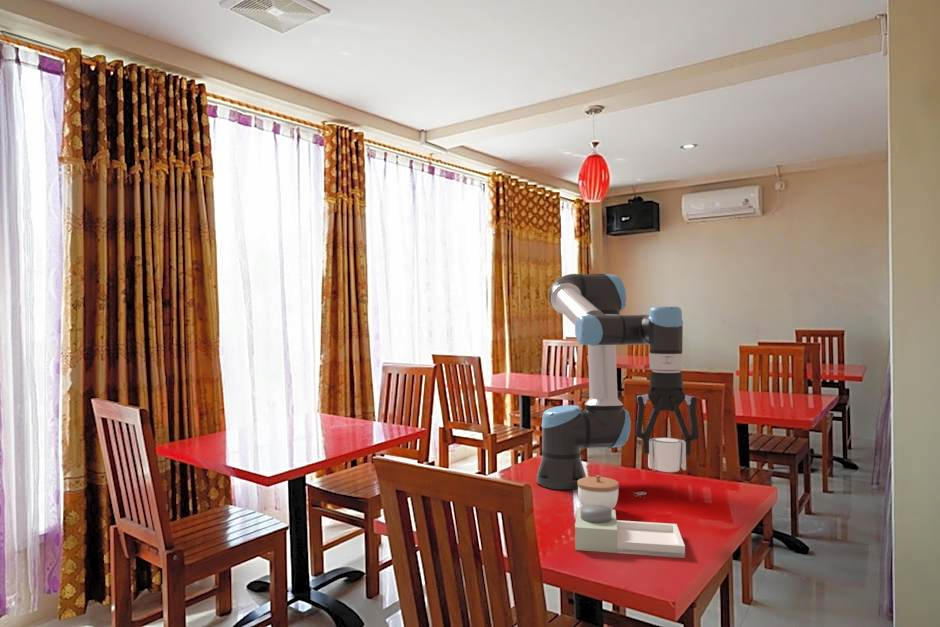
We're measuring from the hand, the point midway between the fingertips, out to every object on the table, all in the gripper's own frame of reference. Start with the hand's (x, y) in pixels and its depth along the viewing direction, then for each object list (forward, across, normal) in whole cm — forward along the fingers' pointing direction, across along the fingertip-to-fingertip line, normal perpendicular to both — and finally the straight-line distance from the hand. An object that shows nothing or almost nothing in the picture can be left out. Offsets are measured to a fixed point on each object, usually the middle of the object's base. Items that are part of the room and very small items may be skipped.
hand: (666, 467), depth 145 cm
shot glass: (+1, 0, 0) cm, 1 cm away
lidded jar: (+15, -16, +13) cm, 26 cm away
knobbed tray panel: (+15, -10, -8) cm, 20 cm away
